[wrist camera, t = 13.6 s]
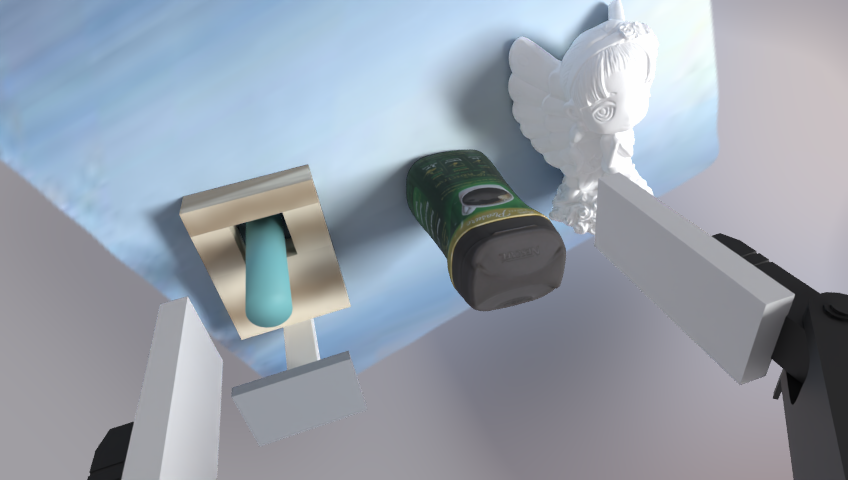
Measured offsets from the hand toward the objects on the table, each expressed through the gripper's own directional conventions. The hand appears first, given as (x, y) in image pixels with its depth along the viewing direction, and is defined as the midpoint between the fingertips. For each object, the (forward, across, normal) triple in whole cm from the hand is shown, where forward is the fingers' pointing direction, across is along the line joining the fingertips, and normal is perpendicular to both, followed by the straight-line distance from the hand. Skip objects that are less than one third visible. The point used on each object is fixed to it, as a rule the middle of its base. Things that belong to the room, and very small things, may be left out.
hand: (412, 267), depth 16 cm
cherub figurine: (+35, +25, -12) cm, 45 cm away
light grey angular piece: (+35, -9, -26) cm, 44 cm away
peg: (+35, -9, -16) cm, 39 cm away
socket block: (+35, -9, -19) cm, 41 cm away
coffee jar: (+35, +11, -17) cm, 40 cm away
